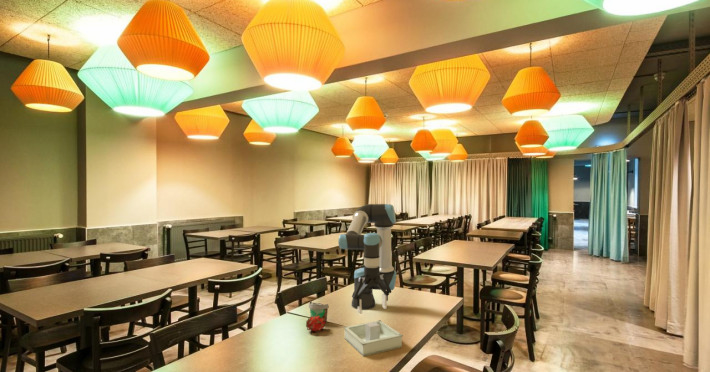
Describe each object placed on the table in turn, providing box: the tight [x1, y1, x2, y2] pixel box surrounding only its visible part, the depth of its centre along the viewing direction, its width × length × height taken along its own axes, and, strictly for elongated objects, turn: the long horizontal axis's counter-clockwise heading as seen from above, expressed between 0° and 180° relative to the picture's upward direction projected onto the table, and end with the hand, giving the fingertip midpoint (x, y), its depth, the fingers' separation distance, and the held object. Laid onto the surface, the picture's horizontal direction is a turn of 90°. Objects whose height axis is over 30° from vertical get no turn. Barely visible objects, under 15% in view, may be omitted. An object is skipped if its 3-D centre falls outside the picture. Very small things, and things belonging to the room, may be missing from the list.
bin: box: [343, 320, 404, 357], centre depth 163 cm, size 21×21×6 cm
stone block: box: [364, 321, 380, 341], centre depth 163 cm, size 5×5×8 cm
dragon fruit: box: [305, 316, 327, 333], centre depth 178 cm, size 8×8×12 cm
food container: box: [308, 300, 329, 323], centre depth 190 cm, size 12×6×10 cm, turn 62°
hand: (372, 310), depth 164 cm, fingers open, 13 cm apart
